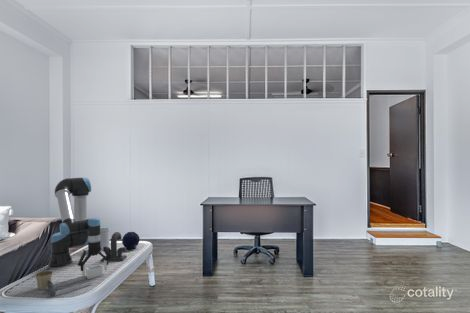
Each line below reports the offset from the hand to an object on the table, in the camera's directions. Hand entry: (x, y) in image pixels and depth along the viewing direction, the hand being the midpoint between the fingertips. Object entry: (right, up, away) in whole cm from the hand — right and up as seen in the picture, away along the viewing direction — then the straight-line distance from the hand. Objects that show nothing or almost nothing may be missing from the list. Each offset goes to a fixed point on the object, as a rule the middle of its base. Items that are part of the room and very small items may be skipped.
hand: (94, 273), depth 196 cm
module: (0, -2, 0) cm, 2 cm away
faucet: (0, -2, +36) cm, 36 cm away
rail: (-7, -2, -16) cm, 18 cm away
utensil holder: (-23, -3, +60) cm, 64 cm away
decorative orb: (+3, -3, +60) cm, 60 cm away
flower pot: (-23, -3, -16) cm, 29 cm away
